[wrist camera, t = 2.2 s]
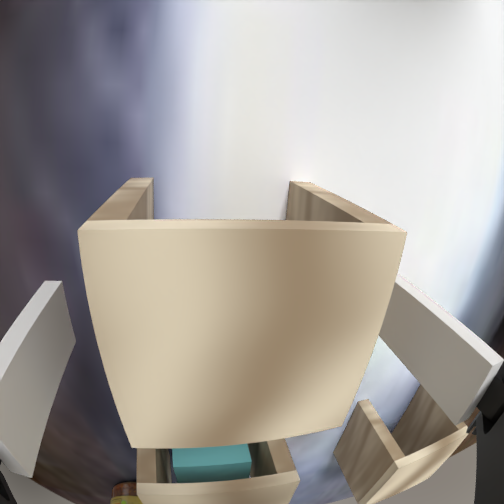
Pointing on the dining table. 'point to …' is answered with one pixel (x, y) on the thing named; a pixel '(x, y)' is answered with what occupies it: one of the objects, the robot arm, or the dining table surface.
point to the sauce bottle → (125, 494)
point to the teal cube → (211, 463)
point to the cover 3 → (395, 448)
